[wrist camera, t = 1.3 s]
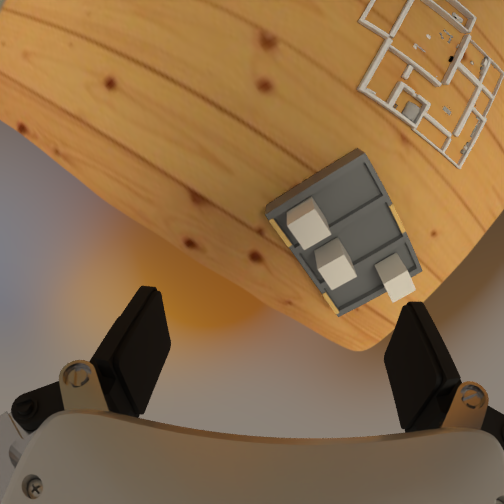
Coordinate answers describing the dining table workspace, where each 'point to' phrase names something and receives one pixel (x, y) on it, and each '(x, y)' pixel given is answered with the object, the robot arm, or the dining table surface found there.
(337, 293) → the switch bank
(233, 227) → the dining table surface
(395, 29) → the floor plan model
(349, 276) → the white block
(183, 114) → the dining table surface
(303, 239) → the white rectangular block
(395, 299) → the tab
